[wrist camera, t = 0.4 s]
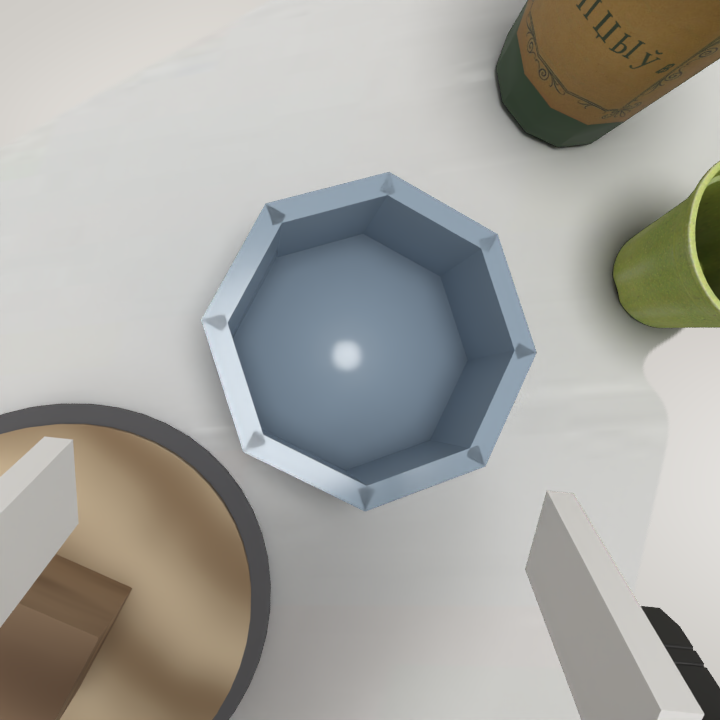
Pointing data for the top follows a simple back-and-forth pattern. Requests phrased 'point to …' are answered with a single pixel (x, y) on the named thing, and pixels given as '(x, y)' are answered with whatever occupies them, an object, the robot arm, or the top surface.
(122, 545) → the lid
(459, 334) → the bowl
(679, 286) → the plant pot
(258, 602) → the mat
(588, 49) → the bottle
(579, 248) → the top surface
